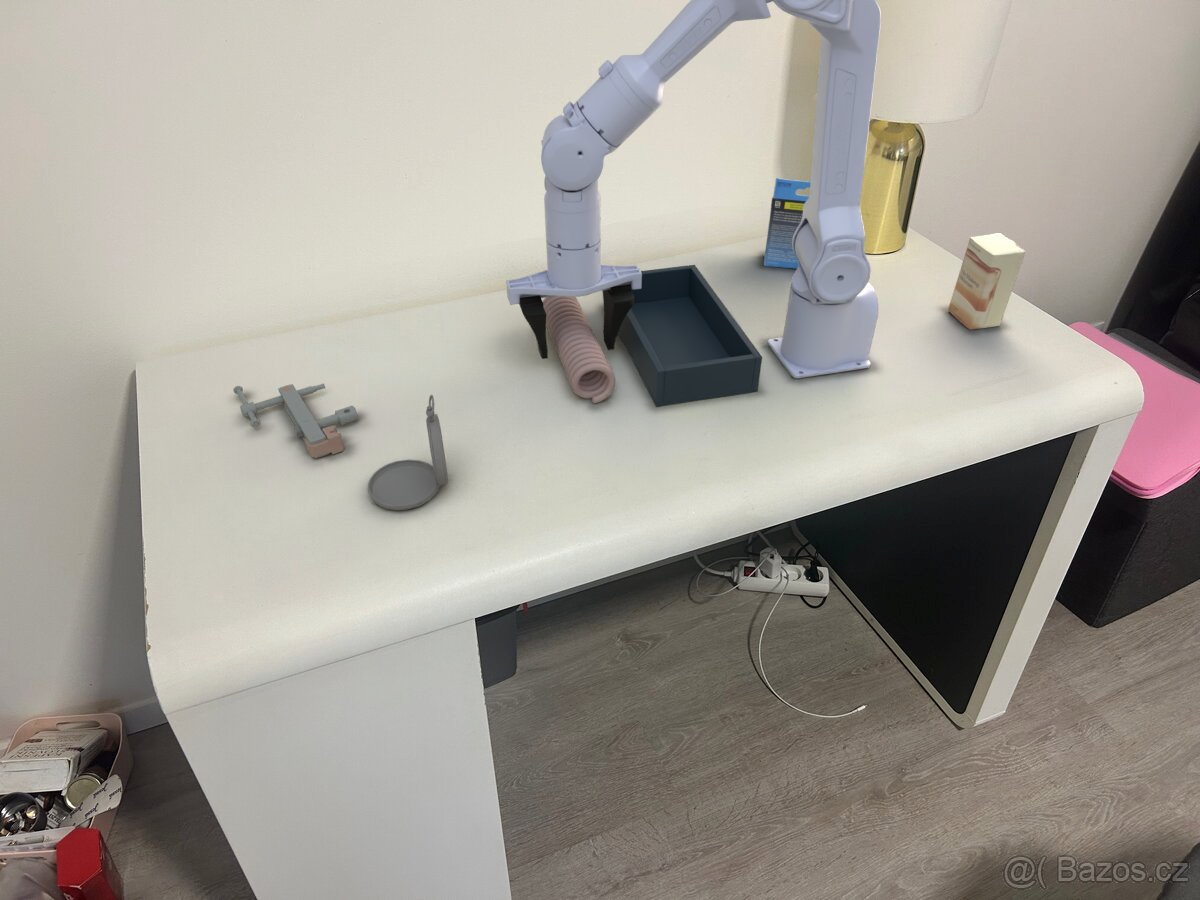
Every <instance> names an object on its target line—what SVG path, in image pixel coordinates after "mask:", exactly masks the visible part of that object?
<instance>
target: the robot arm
mask: <svg viewBox="0 0 1200 900" xmlns="http://www.w3.org/2000/svg"><path fill="white" fill-rule="evenodd" d="M772 2H773V3H774V4H775V6H776V7H777V8H778V9H779V10H781V11H782V12H784V13H787V14H788V15H791V16H793V17H796V18H798V19H801V20H804V21H806V22H808V23H809V24H810V25H811V26H812V27H813V28H814V29H815V30H816V31H817V32H818V33H819V34H820V46H819V47H820V48H819V61H818V73H817V74H818V75H817V89H816V102H815V116H814V128H813V129H814V130H813V140H812V141H813V143H812V157H811V171H810V181H809V182H810V189H809V195H808V196H809V198H808V200H807V201H806V202H805V204H804V206H803V215H802V219H801V222H800V224H799V226H798V227H797V229H796V231H795V233H794V235H793V239H792V249H793V252H794V254H795V256H796V257H797V259H798V260H799V266H798V268H797V269H796V270H795V272H794V274H793V275H792V277H791V280H790V287H789V294H788V301H787V305H786V306H787V308H786V314H785V320H784V326H783V331H782V332H783V333H782V336H781V337H775V338H769V339H768V340H767V345H768V346H769V348H770V349H771V350H772V352H773V353H774V354H775V356H776V357H777V358H778V360H779V361H780V362H781V363H782V365H783V366H784V368H785V369H786V370H787V371H788V373H789V374H790V375H791V377H793V378H794V379H803V378H804V379H805V378H809V377H816V376H822V375H829V374H836V373H842V372H843V373H844V372H849V371H856V370H862V369H868V368H870V367H871V366H872V363H871V361H870V360H869V356H870V352H871V349H872V344H873V339H874V336H875V330H876V327H877V323H878V317H879V300H878V296H877V293H876V290H875V289H874V287H873V286H872V284H871V283H870V282H869V281H870V278H871V272H872V271H871V270H872V269H871V265H870V264H871V263H870V261H869V259H868V257H867V255H866V251H865V243H866V232H865V227H864V221H863V217H862V210H861V199H862V191H863V184H864V183H863V182H864V173H865V164H866V157H867V147H868V139H869V130H870V120H871V112H872V105H873V104H872V103H873V94H874V86H875V76H876V69H877V68H876V67H877V59H878V51H879V43H880V42H879V41H880V33H881V32H880V31H881V25H882V12H881V8H880V5H879V4H878V1H877V0H690V1H689V2H688V3H686V5H685V6H684V7H683V8H682V10H680V12H678V14H677V15H676V16H675V17H674V18H673V19H672V20H671V22H670V23H668V25H667V26H666V27H665V28H664V29H663V30H662V31H661V32H660V34H659V35H658V36H657V37H656V38H655V39H654V40H653V42H652V43H650V45H649V46H648V47H647V48H646V49H645V50H644V51H643V52H642V53H640V54H622V55H620V56H619V57H617V59H616V60H615V61H614V62H613V63H612V61H610V60H609V59H606V60H605V61H604V62H603V63H602V64H601V65H600V66H599V68H598V70H597V71H598V75H599V78H598V79H597V80H596V81H595V82H593V84H592V85H590V86H589V88H587V90H586V91H585V92H584V93H583V94H582V95H581V96H580V97H579V98H578V99H577V100H576V101H575V102H574V103H572V102H571V101H568V102H567V103H566V104H565V105H564V106H563V108H562V114H560V115H558V116H556V117H554V118H553V119H551V120H550V122H549V123H548V124H547V126H546V127H545V129H544V132H543V136H542V139H541V155H540V161H541V166H542V171H543V173H544V175H545V176H544V179H543V181H544V183H543V184H544V190H545V191H546V192H545V194H544V198H543V203H544V204H543V205H544V224H545V245H546V246H545V247H546V263H547V264H546V265H547V266H546V267H547V269H544V270H541V271H539V272H535V273H532V274H529V275H525V276H522V277H518V278H514V279H509V280H508V279H507V280H506V281H505V284H506V285H505V287H506V297H507V299H508V303H509V305H510V306H513V305H519V308H520V310H521V313H522V315H523V317H524V318H525V320H526V322H527V323H528V325H529V327H530V328H531V330H532V332H533V334H534V336H535V340H536V343H537V351H538V353H539V356H540V358H541V360H546V359H549V349H548V343H547V342H548V341H547V326H546V315H547V314H546V312H545V309H544V307H543V299H545V298H546V297H553V296H568V297H576V298H577V297H585V296H589V295H593V294H595V293H598V292H602V301H603V327H602V328H603V329H602V335H603V337H602V338H603V343H604V345H605V346H606V348H607V350H608V351H611V350H614V349H615V344H616V342H617V338H618V335H619V333H618V331H619V329H620V326H621V324H622V322H623V320H624V318H625V316H626V315H627V313H628V312H629V310H630V309H631V307H632V306H633V303H634V295H633V293H632V291H631V290H632V289H641V283H642V273H641V271H642V270H641V269H640V267H639V266H638V264H634V265H614V264H613V265H611V264H602V207H601V206H602V197H601V193H600V191H599V178H600V177H601V174H602V172H603V170H604V163H605V161H604V160H605V157H606V156H608V155H609V154H612V153H614V152H616V150H617V149H618V148H619V147H620V146H621V145H622V144H623V143H624V142H625V141H627V140H628V139H629V137H631V136H632V135H633V134H634V133H635V132H636V131H637V130H638V129H639V128H640V127H641V126H642V125H643V124H644V123H645V122H647V120H648V119H649V118H651V116H652V115H653V114H655V113H656V111H657V110H658V109H660V107H661V106H662V105H663V103H664V89H665V88H664V87H665V85H666V83H667V82H668V81H670V80H671V78H673V77H674V76H675V75H676V74H677V73H678V72H679V71H681V69H683V68H684V67H685V66H686V65H687V64H688V63H689V62H691V61H692V60H693V59H694V58H695V57H696V56H697V55H698V54H699V53H701V52H702V51H703V50H704V49H705V48H706V47H707V46H708V45H709V44H711V42H713V41H714V40H716V38H717V37H718V36H719V35H720V34H722V33H723V32H724V31H725V30H727V28H728V27H729V26H731V25H732V24H733V23H735V22H743V21H753V20H755V21H756V20H765V19H770V18H772V15H771V12H770V10H769V6H768V4H769V3H772Z"/></svg>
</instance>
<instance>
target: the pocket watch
mask: <svg viewBox="0 0 1200 900" xmlns="http://www.w3.org/2000/svg"><path fill="white" fill-rule="evenodd" d="M425 414H426V416H427V417H426V418H425V422H426V430H427V437H428V444H429V450H430V457H431V463H432V465H431V464H430V463H429V462H426V461H423V460H419V459H403V460H396V461H392V462H390V463H387V464H385V465H383V466H382V467H380V468H378V469H377V470H376V471H374V472H373V474H372V475H371V476H370V478H369V480H368V482H367V492H368V495H369V498H370V500H372V502H373V503H375V504H376V505H377V506H379V507H381V508H384V509H386V510H393V511H405V510H410V509H415V508H417V507H420V506H422V505H424V504H426V503H427V502H429V501H431V500H432V498H434V496H435V495H436V494H437V493H438V491H439V489H440V486H444V485H447V484H448V481H449V475H448V467H447V466H448V465H447V460H446V454H445V453H446V452H445V447H444V440H443V434H442V428H441V427H442V426H441V423H440V419H439V415H438V414H437V413H435V397H434V395H433V394H430V395H429V398H428V406H427V407H426V410H425Z"/></svg>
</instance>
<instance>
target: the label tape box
mask: <svg viewBox="0 0 1200 900" xmlns="http://www.w3.org/2000/svg"><path fill="white" fill-rule="evenodd" d="M774 181H775V182H774V188H773V195H772V198H771V203H770V214H769V221H768V228H767V234H766V241H765V242H766V243H765V249H764V258H763V266H765V267H773V268H783V269H796V270H797V268H798V266H799V260H798V259H797V257H796V256H795V254H794V252H793V249H792V239H793V235H794V233H795V231H796V229H797V227H798V226H799V224H800V222H801V219H802V215H803V206H804V204H805V202H806V201H807V200H808V198H809V196H810V195H805V194H798V193H797V191H806V190H807V189H809V190H810V182H811V181H809V180H808V181H807V180H798V179H787V178H780V177H775V180H774Z"/></svg>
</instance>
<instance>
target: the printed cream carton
mask: <svg viewBox="0 0 1200 900" xmlns="http://www.w3.org/2000/svg"><path fill="white" fill-rule="evenodd" d="M1026 253H1027V251H1026V250H1025V249H1024V248H1023V247H1021V246H1020V245H1018V243H1017V242H1015V241H1014V240H1012V239H1011V238H1009V237H1007V236H1006V235H1005V234H1004V233H1002V232H996V233H988V234H979V235H974V236H970V237H969V240H968V243H967V247H966V249H965V253H964V256H963V260H962V262H961V267H960V269H959V273H958V276H957V279H956V282H955V285H954V289H953V293H952V296H951V298H950V302H949V305H948V309H947V310H948V312H949V313H950V314H951V315H952V316H953V317H954V318H955V319H957V320H958V321H959V322H960V323H961V324H962V325H963V326H964V327H965V328H966V329H968V330H970V331H971V330H978V329H979V330H980V329H985V328H986V329H987V328H993V327H1000V326H1001V324H1002V320H1003V318H1004V314H1005V311H1006V309H1007V306H1008V304H1009V301H1010V297H1011V296H1012V291H1013V289H1014V286H1015V285H1016V284H1015V283H1016V281H1017V278H1018V275H1019V272H1020V269H1021V266H1022V264H1023V261H1024V258H1025V255H1026Z"/></svg>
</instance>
